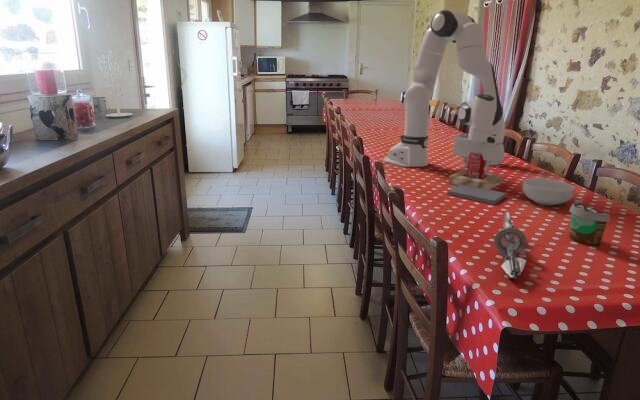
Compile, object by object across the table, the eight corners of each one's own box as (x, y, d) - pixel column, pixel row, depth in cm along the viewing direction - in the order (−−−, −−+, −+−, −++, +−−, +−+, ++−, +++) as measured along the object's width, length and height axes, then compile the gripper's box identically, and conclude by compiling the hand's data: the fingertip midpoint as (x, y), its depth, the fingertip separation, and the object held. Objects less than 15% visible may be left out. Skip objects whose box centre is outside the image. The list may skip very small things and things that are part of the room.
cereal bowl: (550, 212, 148) (554, 193, 145) (510, 198, 162) (513, 180, 159) (581, 205, 155) (585, 186, 153) (540, 193, 169) (543, 175, 167)
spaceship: (525, 208, 128) (500, 196, 128) (541, 271, 97) (508, 255, 98) (510, 228, 131) (486, 217, 132) (521, 296, 101) (490, 280, 102)
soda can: (484, 185, 176) (489, 154, 172) (466, 184, 178) (470, 153, 173) (481, 180, 183) (486, 150, 179) (464, 179, 184) (468, 149, 180)
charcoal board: (447, 194, 166) (447, 190, 166) (460, 187, 175) (460, 184, 174) (494, 204, 155) (494, 200, 154) (505, 197, 164) (506, 193, 163)
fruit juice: (490, 160, 221) (497, 105, 213) (504, 164, 213) (512, 107, 204) (475, 162, 218) (483, 106, 209) (489, 166, 210) (497, 108, 201)
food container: (555, 231, 131) (561, 200, 128) (574, 231, 132) (581, 200, 128) (582, 248, 119) (589, 215, 116) (603, 248, 120) (611, 214, 117)
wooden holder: (448, 183, 180) (449, 175, 179) (464, 176, 191) (465, 168, 190) (486, 191, 170) (487, 183, 169) (500, 183, 181) (502, 175, 180)
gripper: (452, 133, 178) (448, 165, 183) (502, 140, 166) (496, 175, 170) (459, 131, 183) (455, 163, 187) (507, 138, 170) (502, 172, 175)
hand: (475, 169), depth 179 cm, fingers closed on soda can, 6 cm apart
